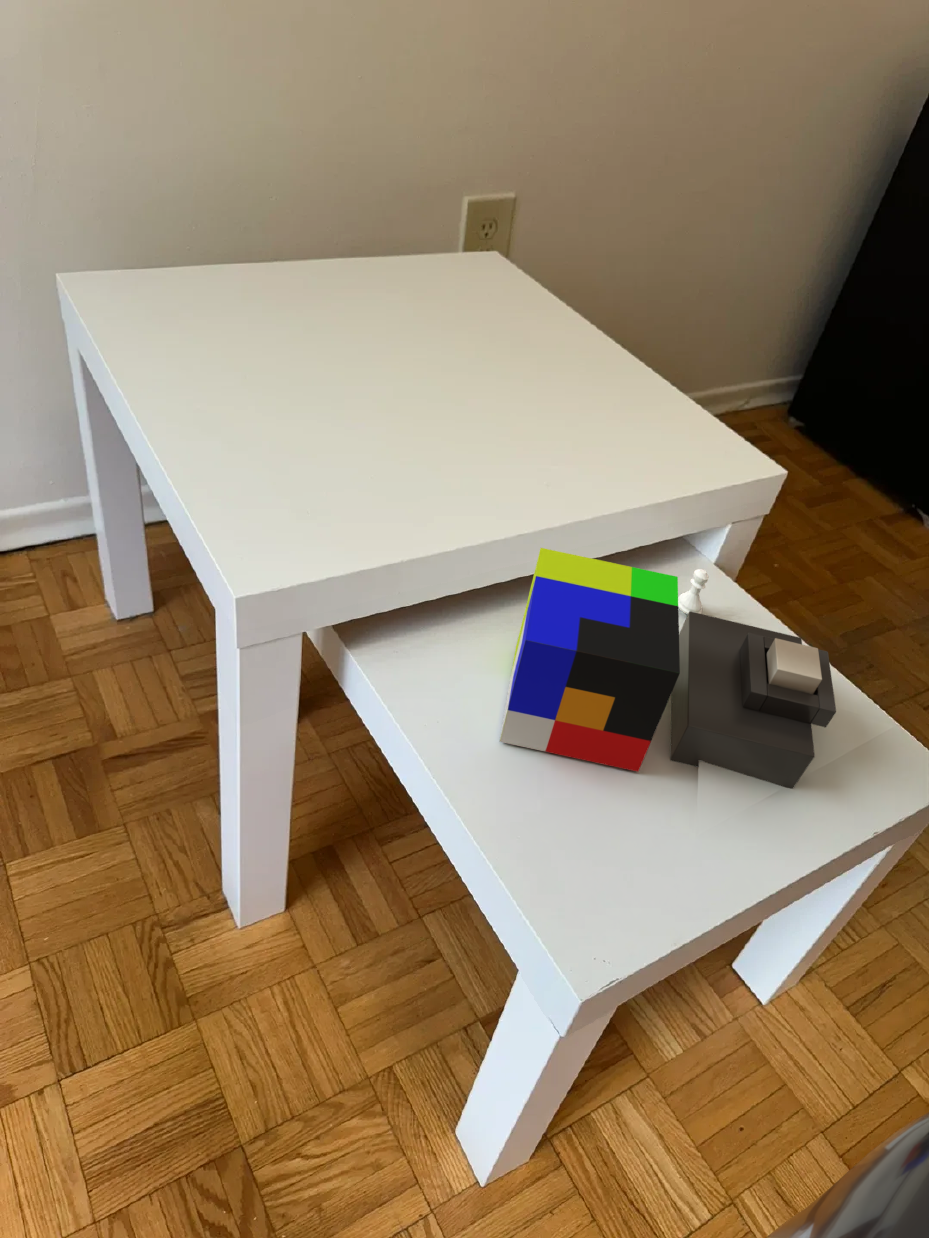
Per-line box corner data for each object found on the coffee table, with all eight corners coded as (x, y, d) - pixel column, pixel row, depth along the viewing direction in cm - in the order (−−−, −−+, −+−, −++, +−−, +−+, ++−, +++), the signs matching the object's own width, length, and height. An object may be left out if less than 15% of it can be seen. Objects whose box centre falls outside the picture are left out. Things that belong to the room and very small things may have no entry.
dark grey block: (805, 795, 67) (841, 744, 63) (669, 761, 67) (696, 709, 63) (793, 676, 76) (824, 624, 72) (673, 647, 76) (696, 594, 72)
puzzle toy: (499, 741, 66) (525, 640, 59) (515, 647, 73) (540, 547, 67) (638, 771, 66) (679, 673, 59) (640, 673, 73) (677, 576, 67)
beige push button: (812, 695, 66) (822, 679, 65) (768, 685, 67) (777, 668, 65) (808, 664, 69) (818, 648, 68) (766, 653, 69) (775, 637, 68)
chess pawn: (706, 613, 80) (722, 578, 77) (689, 619, 79) (704, 583, 76) (687, 595, 81) (701, 559, 78) (670, 600, 80) (683, 564, 78)
